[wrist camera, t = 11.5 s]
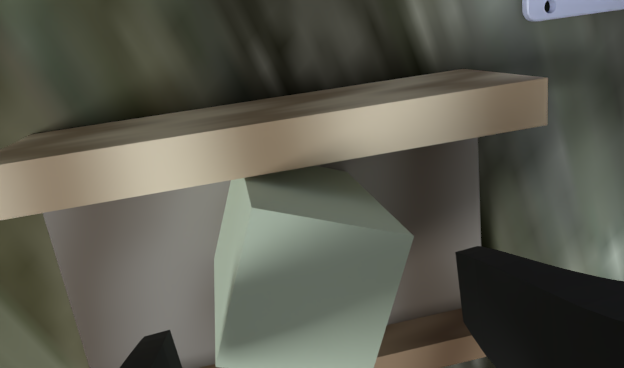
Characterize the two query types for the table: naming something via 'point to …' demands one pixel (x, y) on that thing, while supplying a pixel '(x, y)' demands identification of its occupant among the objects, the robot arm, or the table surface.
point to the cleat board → (252, 162)
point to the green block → (305, 271)
